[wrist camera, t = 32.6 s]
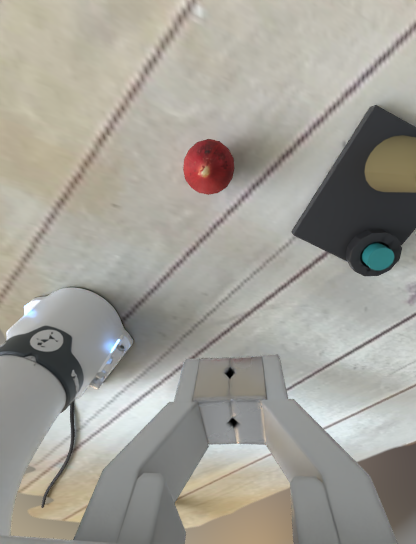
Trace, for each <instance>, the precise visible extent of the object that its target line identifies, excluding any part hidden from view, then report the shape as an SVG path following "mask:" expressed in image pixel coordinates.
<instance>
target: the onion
mask: <svg viewBox="0 0 416 544" xmlns="http://www.w3.org/2000/svg"><path fill="white" fill-rule="evenodd" d="M183 170H184V175H185V180H186V181H187V182H188V184H189V185H190V186H191V188H193V189H194V190H196V191H197V192H199V193H204V194H208V195H209V194H214V193H218V192H220V191H221V190H223V189H225V188H226V187H227V186H228V184H229V183H230V181H231V180H232V177H233V173H234V159H233V157H232V155H231V153H230V151H229V149H228V148H227V147H226V146H224V145H223V144H222V143H221V142H220V141H215V140H211V139H207V140H203V141H200V142H197V143H196V144H195V145H194V146H193V147H192V148H190V149H189V151H188V153H187V155H186V157H185V159H184V169H183Z"/></svg>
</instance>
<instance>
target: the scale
mask: <svg viewBox="0 0 416 544" xmlns="http://www.w3.org/2000/svg"><path fill="white" fill-rule="evenodd" d="M401 135H404V136H410V137H416V127H414V126H413V125H411V124H409V123H407V122H405V121H404V120H402V119H400V118H398V117H397V116H395V115H393V114H391V113H389V112H388V111H386V110H384V109H382V108H381V107H379V106H377V105H375V106H372V107H370V108H369V110H368V111H367V113H366V114H365V116H364V118H363V119H362V121H361V122H360V124H359V125H358V127H357V129H356V130H355V132H354V133H353V135H352V137H351V138H350V140H349V141H348V143H347V144H346V146H345V148H344V149H343V151H342V152H341V154H340V156H339V157H338V159H337V160H336V162H335V164H334V165H333V167H332V168H331V170H330V171H329V173H328V175H327V176H326V178H325V179H324V181H323V183H322V184H321V186H320V187H319V189H318V190H317V192H316V194H315V195H314V197H313V198H312V200H311V202H310V203H309V205H308V206H307V208H306V210H305V211H304V213H303V214H302V216H301V217H300V219H299V221H298V222H297V224H296V225H295V227H294V229H293V230H292V234H293V235H294V236H296V237H299V238H301V239H303V240H305V241H307V242H309V243H311V244H313V245H315V246H317V247H319V248H321V249H323V250H325V251H327V252H329V253H331V254H333V255H335V256H337V257H339V258H341V259H344V260H346V261H347V262H348V263H349V265H350V267H351V268H352V269H353V270H354V271H355V272H357V273H359V274H361V275H363V276H379V275H381V274H383V273H385V272H387V271H389V270H390V269H391V268H392V267H393V266H394V265H395V264H396V263H397V262H398V261H399V259H400V254H401V250H402V247H401V245H402V244H403V243H404V242H405V240H406V239H407V238H408V237H409V236H410V235H411V233H412V232H413V231H414V230H415V229H416V193H410V192H381V191H377V190H375V189H373V188H372V187H371V186H370V185H369V184H368V182H367V181H366V177H365V165H366V161H367V159H368V157H369V155H370V153H371V152H372V151H373V150H374V148H375V147H376V146H377V145H379V144H380V143H381V142H383V141H384V140H386V139H388V138H391V137H393V136H401ZM374 243H380V244H383V245H384V246H386V247H387V248H389V249H391V250H392V251H393V253H394V261H393V263H392V264H391V265H390V266H389V267H388V268H386V269H383V270H373V269H371V268H370V267H369V266H368V265H366V264H365V263H364V262H363V260H362V252H363V250H364V249H365V248H366V247H367V246H369V245H371V244H374Z"/></svg>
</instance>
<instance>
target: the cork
mask: <svg viewBox="0 0 416 544" xmlns="http://www.w3.org/2000/svg"><path fill="white" fill-rule="evenodd" d="M365 177H366V181H367V182H368V184H369V185H370V186H371V187H372V188H373V189H375V190H377V191H381V192H410V193H416V137H410V136H404V135H401V136H393V137H391V138H388V139H386V140H384V141H383V142H381V143H380V144H379V145H377V146H376V147H375V148H374V150H373V151H372V152H371V153H370V155H369V157H368V159H367V161H366V165H365Z"/></svg>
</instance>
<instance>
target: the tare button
mask: <svg viewBox="0 0 416 544" xmlns="http://www.w3.org/2000/svg"><path fill="white" fill-rule="evenodd" d="M362 260H363V262H364V263H365V264H366V265H368V266H369V267H370V268H371V269H373V270H383V269H386V268H388V267H389V266H390V265H391V264H392V263H393V261H394V253H393V251H392V250H391V249H389V248H387V247H386V246H384V245H383V244H380V243H374V244H371V245H369V246H367V247H366V248H365V249H364V250H363V252H362Z"/></svg>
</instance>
